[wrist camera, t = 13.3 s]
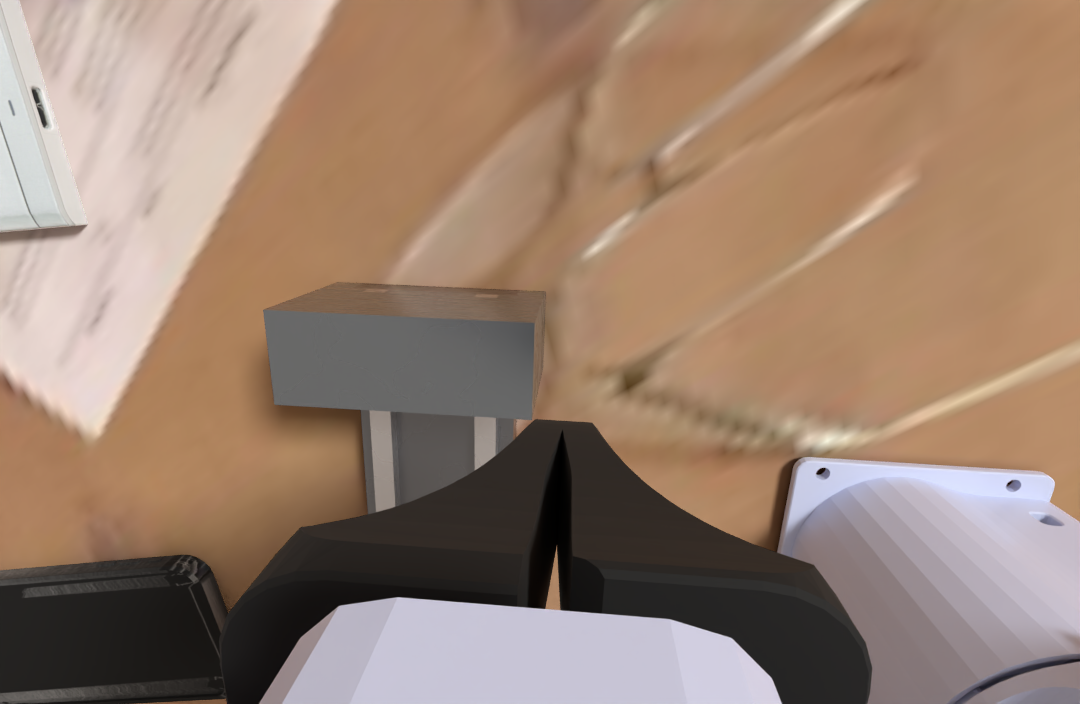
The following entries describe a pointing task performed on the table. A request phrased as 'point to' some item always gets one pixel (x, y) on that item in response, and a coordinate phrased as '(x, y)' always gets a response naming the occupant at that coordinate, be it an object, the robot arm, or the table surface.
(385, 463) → the rail base
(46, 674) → the phone
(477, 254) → the table surface
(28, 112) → the hard drive
